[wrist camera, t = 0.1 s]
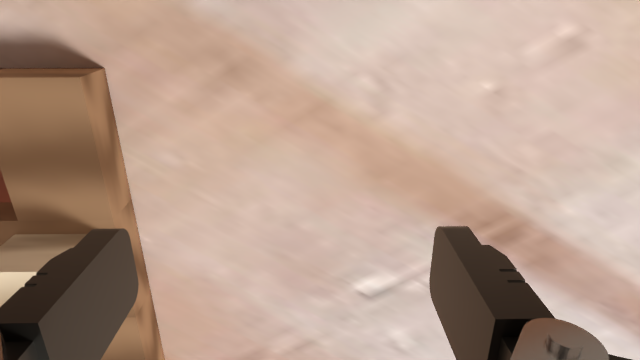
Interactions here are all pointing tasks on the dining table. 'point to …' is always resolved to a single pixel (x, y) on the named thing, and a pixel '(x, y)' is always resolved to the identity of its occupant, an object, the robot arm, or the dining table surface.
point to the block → (29, 258)
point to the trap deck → (70, 176)
